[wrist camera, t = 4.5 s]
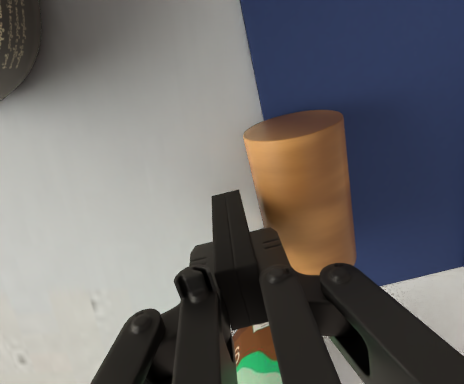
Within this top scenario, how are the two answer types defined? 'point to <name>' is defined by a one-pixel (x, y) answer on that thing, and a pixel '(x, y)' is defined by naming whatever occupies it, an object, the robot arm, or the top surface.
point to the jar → (18, 41)
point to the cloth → (378, 115)
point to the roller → (304, 186)
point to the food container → (256, 356)
